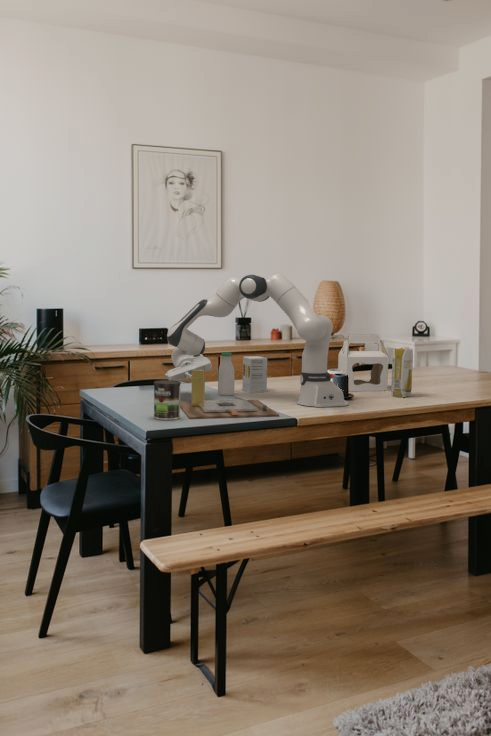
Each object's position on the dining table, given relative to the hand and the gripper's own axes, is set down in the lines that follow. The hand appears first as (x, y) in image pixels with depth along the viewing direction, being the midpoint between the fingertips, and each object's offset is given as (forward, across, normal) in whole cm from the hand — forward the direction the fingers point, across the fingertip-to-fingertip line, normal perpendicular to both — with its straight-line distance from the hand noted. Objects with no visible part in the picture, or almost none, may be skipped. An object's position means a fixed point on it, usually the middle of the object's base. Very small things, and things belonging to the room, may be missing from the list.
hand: (193, 376), depth 300 cm
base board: (+20, +6, +10) cm, 24 cm away
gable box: (-18, +83, +46) cm, 97 cm away
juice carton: (+6, +92, +43) cm, 102 cm away
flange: (+23, +6, +8) cm, 25 cm away
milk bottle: (-17, +15, +22) cm, 31 cm away
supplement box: (-24, +30, +29) cm, 48 cm away
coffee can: (+32, -18, -1) cm, 36 cm away
